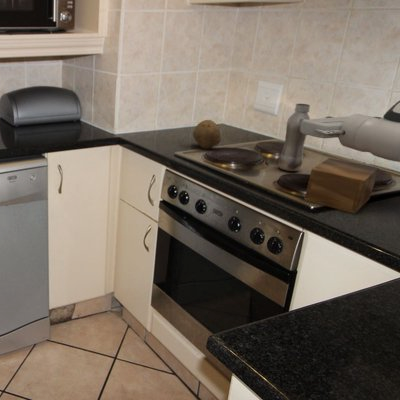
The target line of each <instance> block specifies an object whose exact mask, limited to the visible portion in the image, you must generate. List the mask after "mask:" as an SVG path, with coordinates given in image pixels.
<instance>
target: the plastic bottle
mask: <svg viewBox="0 0 400 400" xmlns="http://www.w3.org/2000/svg"><path fill="white" fill-rule="evenodd" d="M310 107H311V104H307V103H296V104H295V108H294V113H292V114H291V115H290V116H289V117H288V119H287V120H286V128H285V137H284V145H283V147H282V150H281V153H280V154H279V157H278V160H277V161H278V163H277V165H278V167H279V169H281V170H283V171H286V172H287V171H288V172H296V171H299V170H300V169H301V167H302V165H303V154H304V147H305V143H306V139H307V136H308V135H306V134H302V133H301V132H300V129H301V125H299V119H300V118H306V119H311V118H310V116H309V114H308V113H309V112H310Z"/></svg>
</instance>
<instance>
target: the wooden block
mask: <svg viewBox="0 0 400 400" xmlns="http://www.w3.org/2000/svg"><path fill="white" fill-rule="evenodd" d="M378 172H379V167H374V166H370V165H365V164H360V163H355V162H351V161H346V160H340V159H335V158H332V157H328V158H327V159H325V160H323V161H322V162H320V163H319V164H317V165H315V166H314V167H313V168H311V170H310V175H309V178H308V183H307V186H306V191H305V194H304V199H303V201H306V202H310V203H314V204H317V205H320V206H323V207H324V206H325V207H328V208H332V209H335V210H339V211H343V212H346V213H351V214H356V213H357V212H358V211H359V210H360V209H361V208H362V207H363V206H364V205H365V204H366V203H367V202H368V201H370V199H371V195H372V192H373V189H374V186H375V183H376V179H377V176H378Z"/></svg>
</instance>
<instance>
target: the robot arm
mask: <svg viewBox="0 0 400 400" xmlns="http://www.w3.org/2000/svg"><path fill="white" fill-rule="evenodd" d="M299 125H301V129H300V132H301V133H302V134H306V135H307V136H311V137H315V138H318V139H333V138H334V139H336V138H338V141H339V143H340V145H341V146H342V147H345V148H347V149H348V148H349V149H352V150H355V151H358V152H361V153H369V154H371V155H373V156H374V157H377V158H380V159H384V160H388V161H392V162H397V163H400V99H399V100H398V101H397V102H396V103H395V104H393V105H392V106H391V107H390V108H389V109H388V110H387V111H386V112H385V113H383V117H382V116H371V115H365V114H361V113H355V114H352V115H349V116H332V115H329V116H327V115H326V116H325V117H323V118H310V119H306V118H300V119H299Z"/></svg>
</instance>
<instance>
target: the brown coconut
mask: <svg viewBox="0 0 400 400" xmlns="http://www.w3.org/2000/svg"><path fill="white" fill-rule="evenodd" d="M192 135H193V138H194V141H195V142H196V143H197V145H198V146H199V147H200V148H202V149H205V150H207V149H210V148H212V147H214V146H217V145H219V144H220V143H221V142H222V134H221V131H220V128H219V126H218V124H217V123H216V122H215V121H213V120H212V119H204V120H202V121H200V122H199V123H198V124H197V125H196V126H195V128H194V130H193V133H192Z"/></svg>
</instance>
